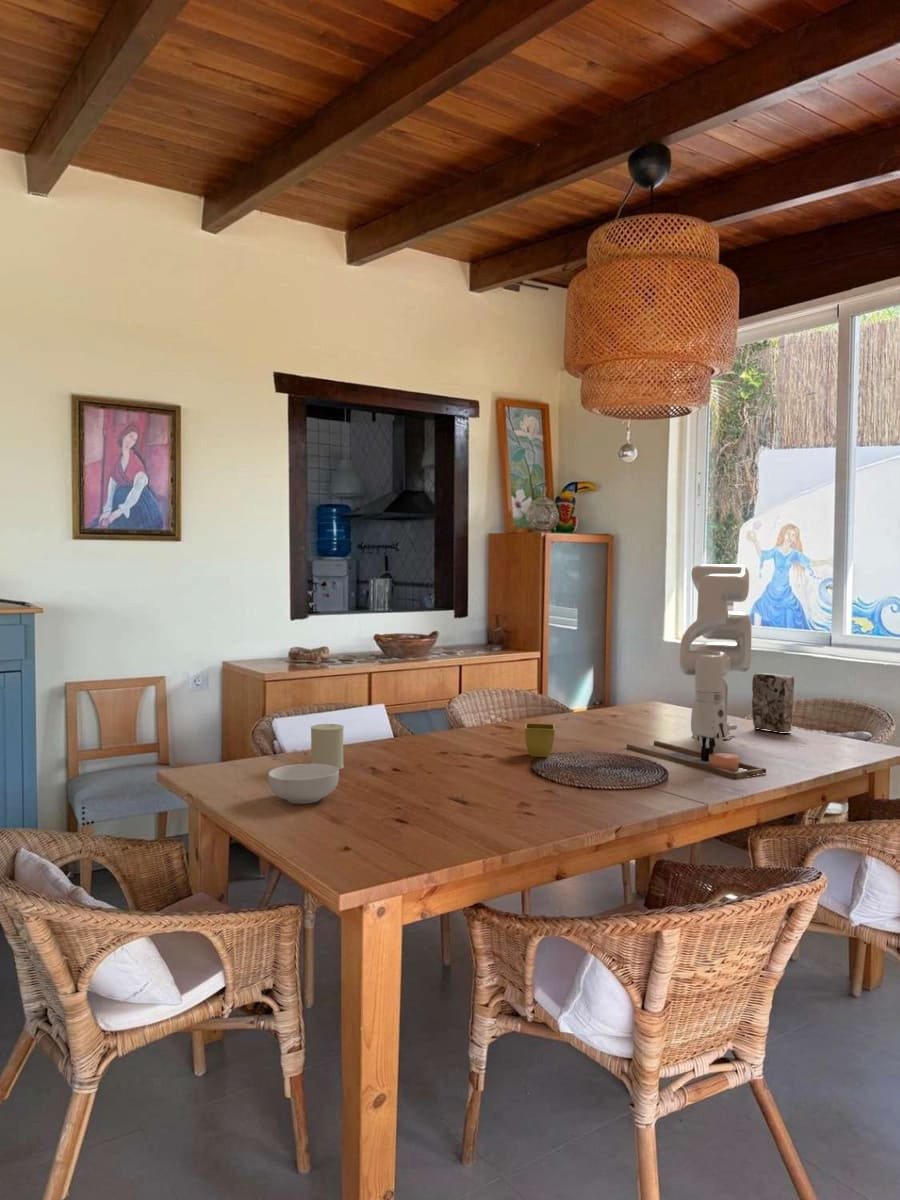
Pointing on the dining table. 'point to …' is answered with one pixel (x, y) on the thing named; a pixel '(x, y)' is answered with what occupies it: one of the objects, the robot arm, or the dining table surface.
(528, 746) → the flower pot
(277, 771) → the cereal bowl
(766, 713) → the stone block
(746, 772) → the trap lane
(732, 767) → the salmon rounded disc
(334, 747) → the can
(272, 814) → the dining table surface
